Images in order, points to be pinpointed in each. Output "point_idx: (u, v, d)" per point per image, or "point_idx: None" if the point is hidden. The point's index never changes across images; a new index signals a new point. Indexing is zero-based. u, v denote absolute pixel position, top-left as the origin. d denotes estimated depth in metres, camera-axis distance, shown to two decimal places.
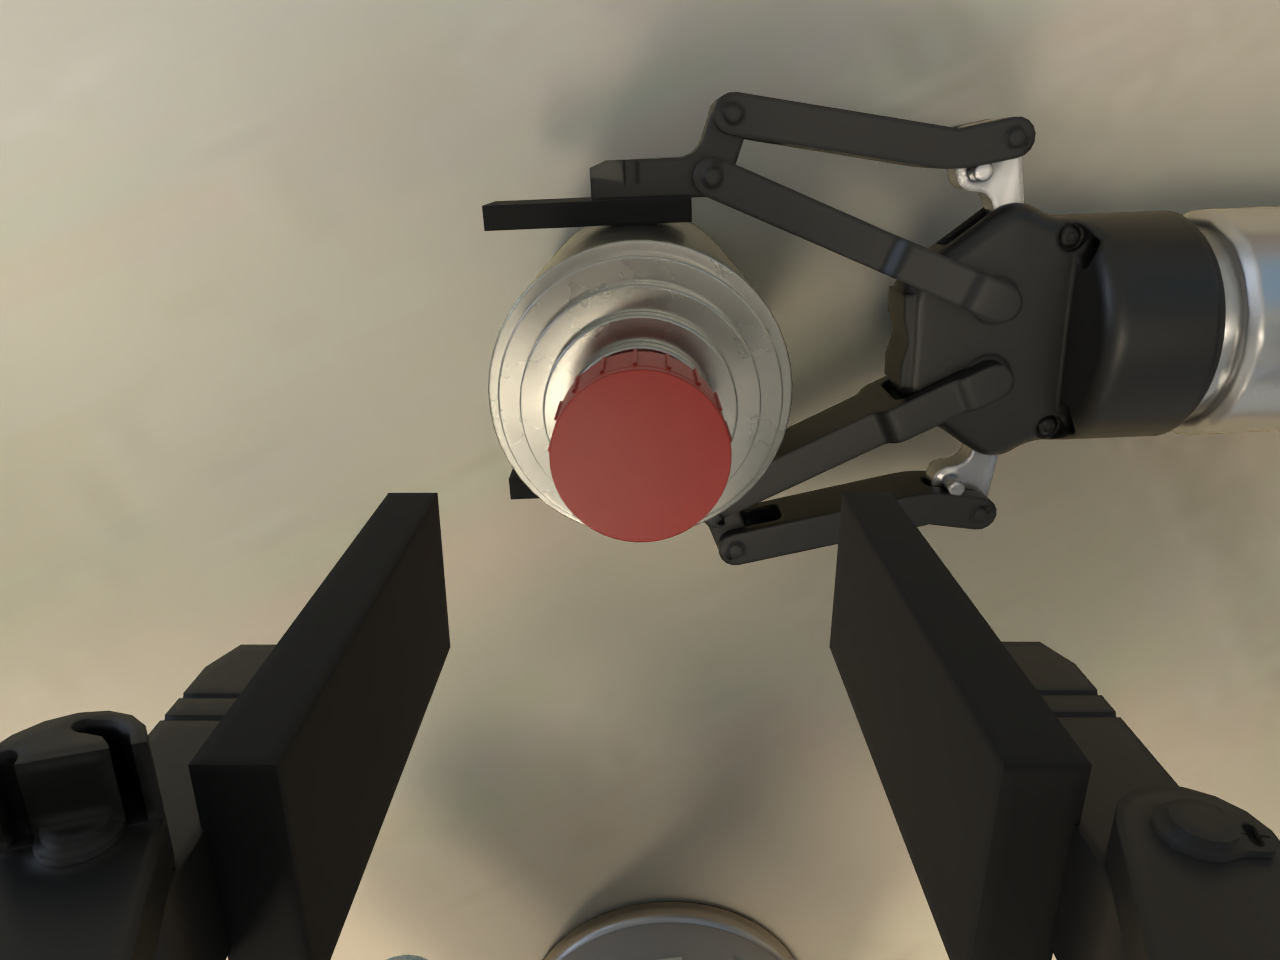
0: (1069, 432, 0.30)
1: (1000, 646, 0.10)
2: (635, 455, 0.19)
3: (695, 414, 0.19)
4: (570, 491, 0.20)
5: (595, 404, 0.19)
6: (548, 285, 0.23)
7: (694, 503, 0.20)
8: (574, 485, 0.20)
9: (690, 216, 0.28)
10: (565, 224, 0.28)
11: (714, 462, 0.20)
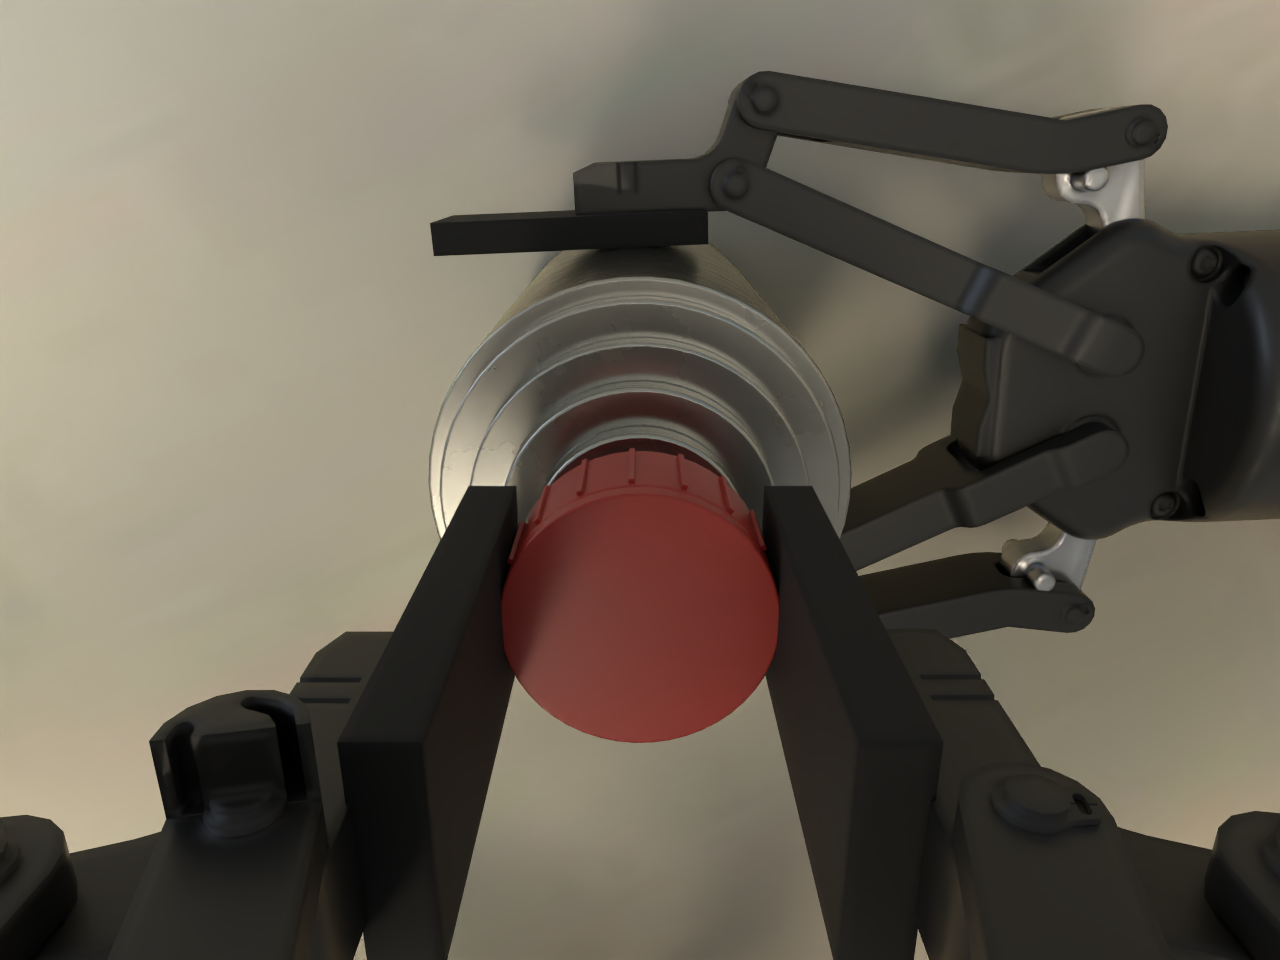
0: (1195, 514, 0.23)
1: (882, 631, 0.10)
2: (632, 620, 0.13)
3: (725, 560, 0.12)
4: (532, 671, 0.13)
5: (569, 545, 0.12)
6: (509, 340, 0.17)
7: (722, 688, 0.13)
8: (538, 663, 0.13)
9: (706, 237, 0.21)
10: (540, 247, 0.21)
11: (754, 630, 0.13)
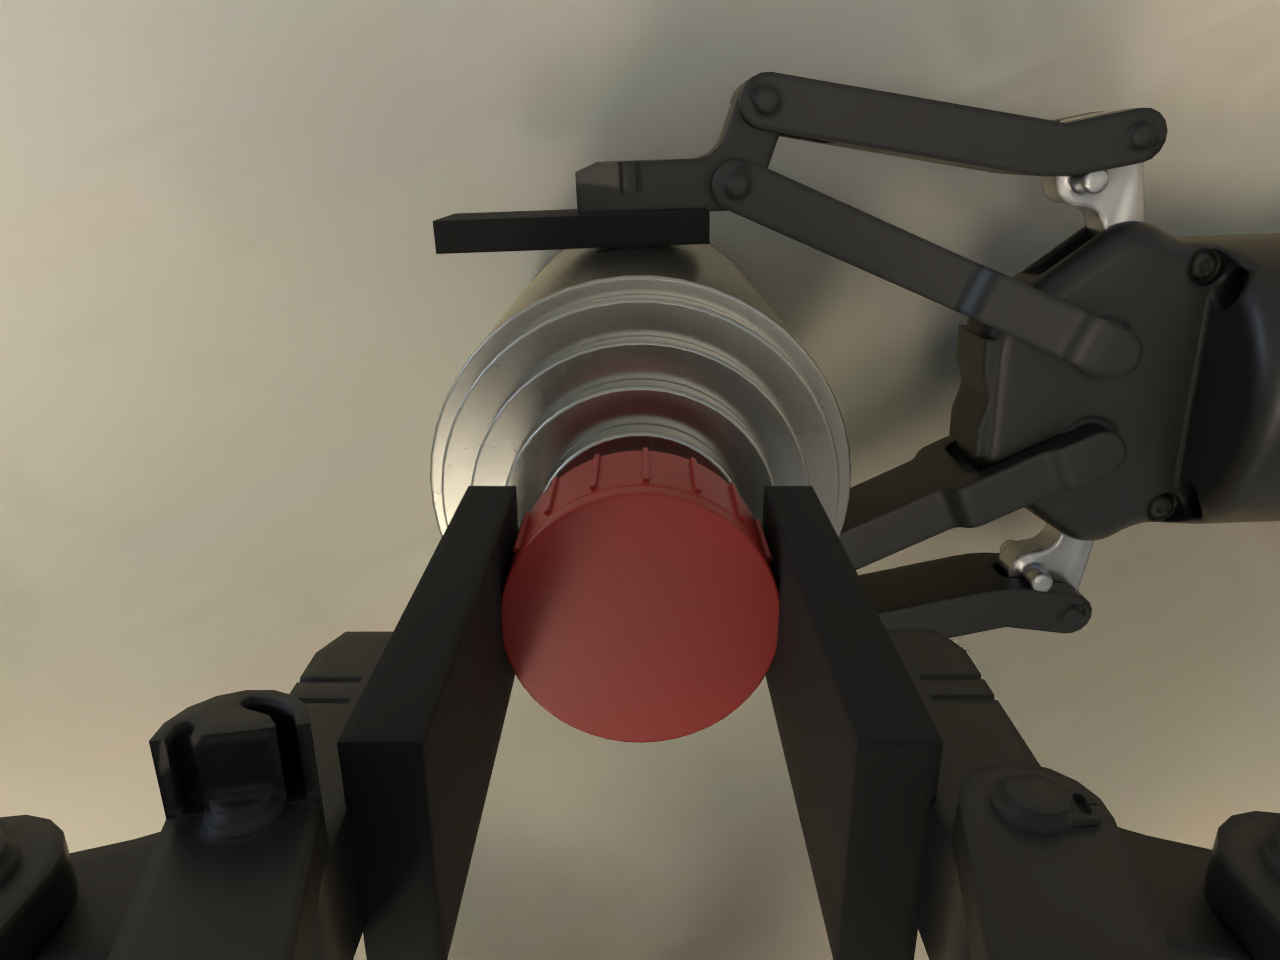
0: (1192, 516, 0.23)
1: (883, 631, 0.10)
2: (635, 633, 0.13)
3: (552, 562, 0.12)
4: (710, 708, 0.13)
5: (569, 695, 0.13)
6: (512, 338, 0.17)
7: (699, 536, 0.12)
8: (699, 705, 0.13)
9: (707, 236, 0.21)
10: (542, 246, 0.21)
11: (624, 520, 0.12)
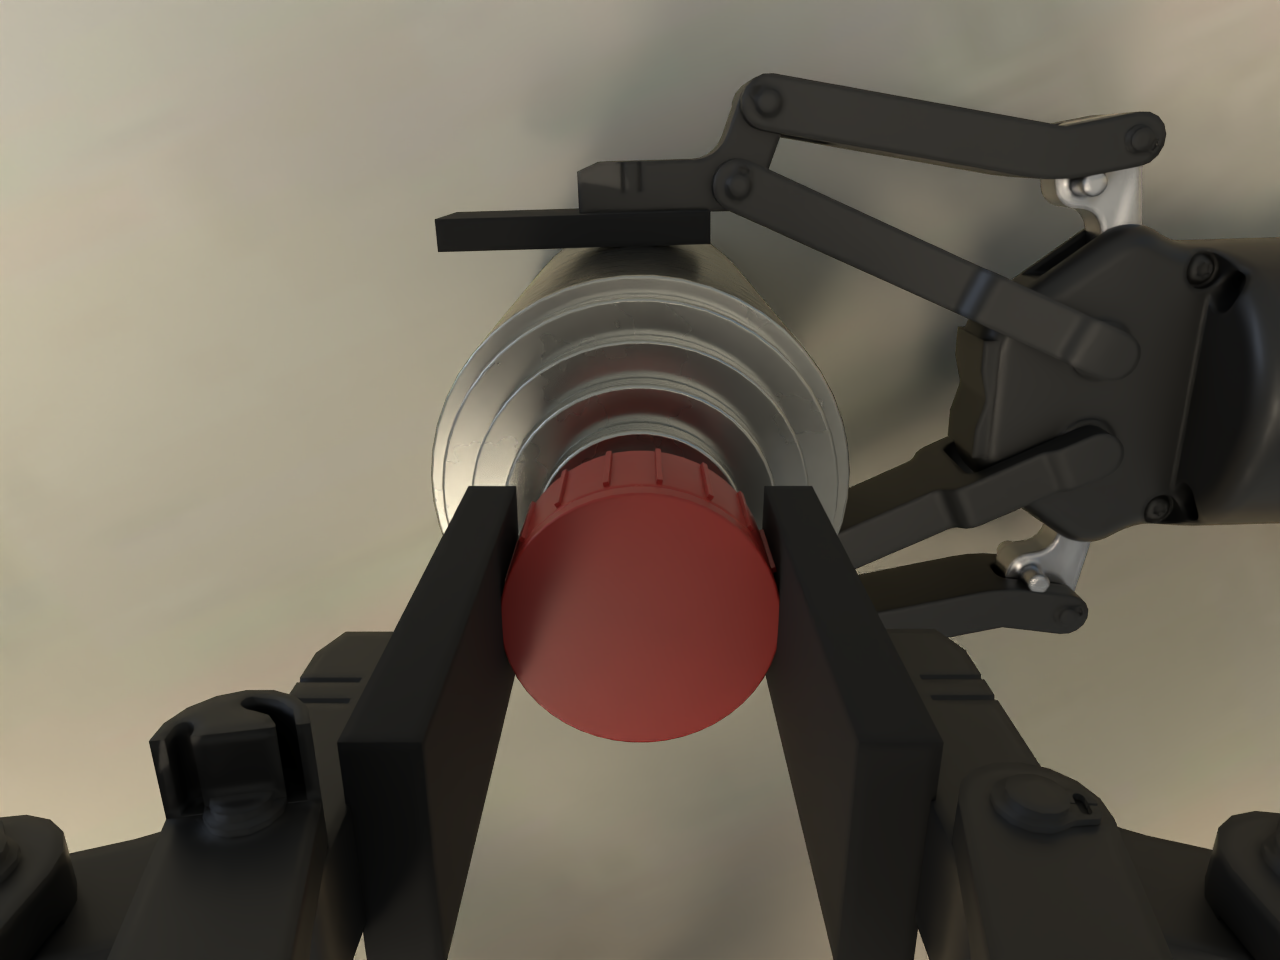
0: (1188, 518, 0.24)
1: (883, 631, 0.10)
2: (649, 628, 0.13)
3: (589, 707, 0.13)
4: (726, 543, 0.12)
5: (733, 674, 0.13)
6: (513, 336, 0.17)
7: (533, 590, 0.12)
8: (723, 555, 0.12)
9: (708, 236, 0.21)
10: (544, 245, 0.21)
11: (533, 656, 0.13)
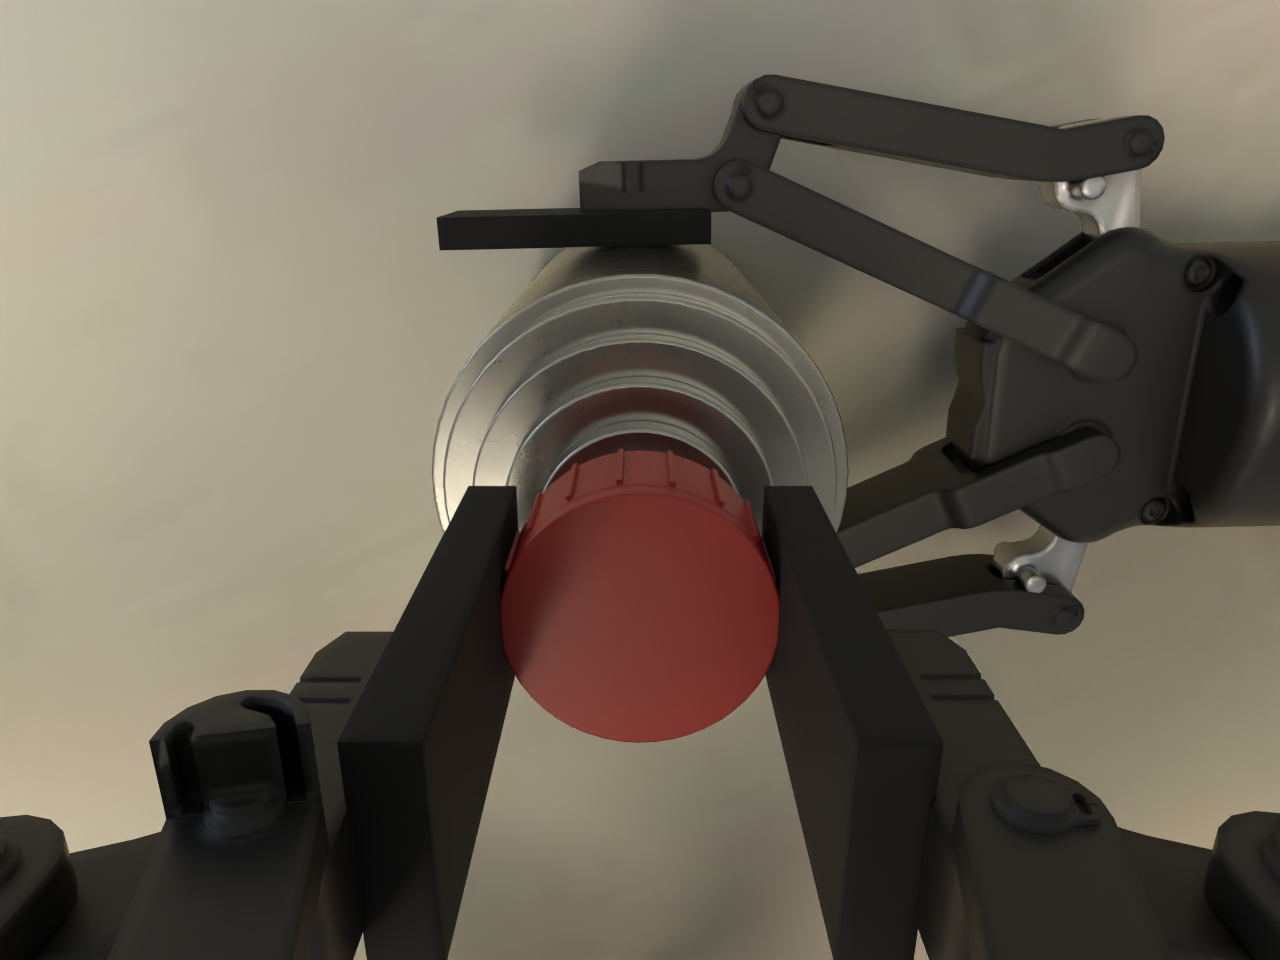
0: (1184, 520, 0.24)
1: (883, 631, 0.10)
2: (641, 616, 0.13)
3: (743, 654, 0.13)
4: (534, 565, 0.12)
5: (680, 529, 0.12)
6: (515, 334, 0.17)
7: (622, 718, 0.13)
8: (547, 566, 0.12)
9: (709, 237, 0.21)
10: (545, 244, 0.21)
11: (693, 710, 0.13)
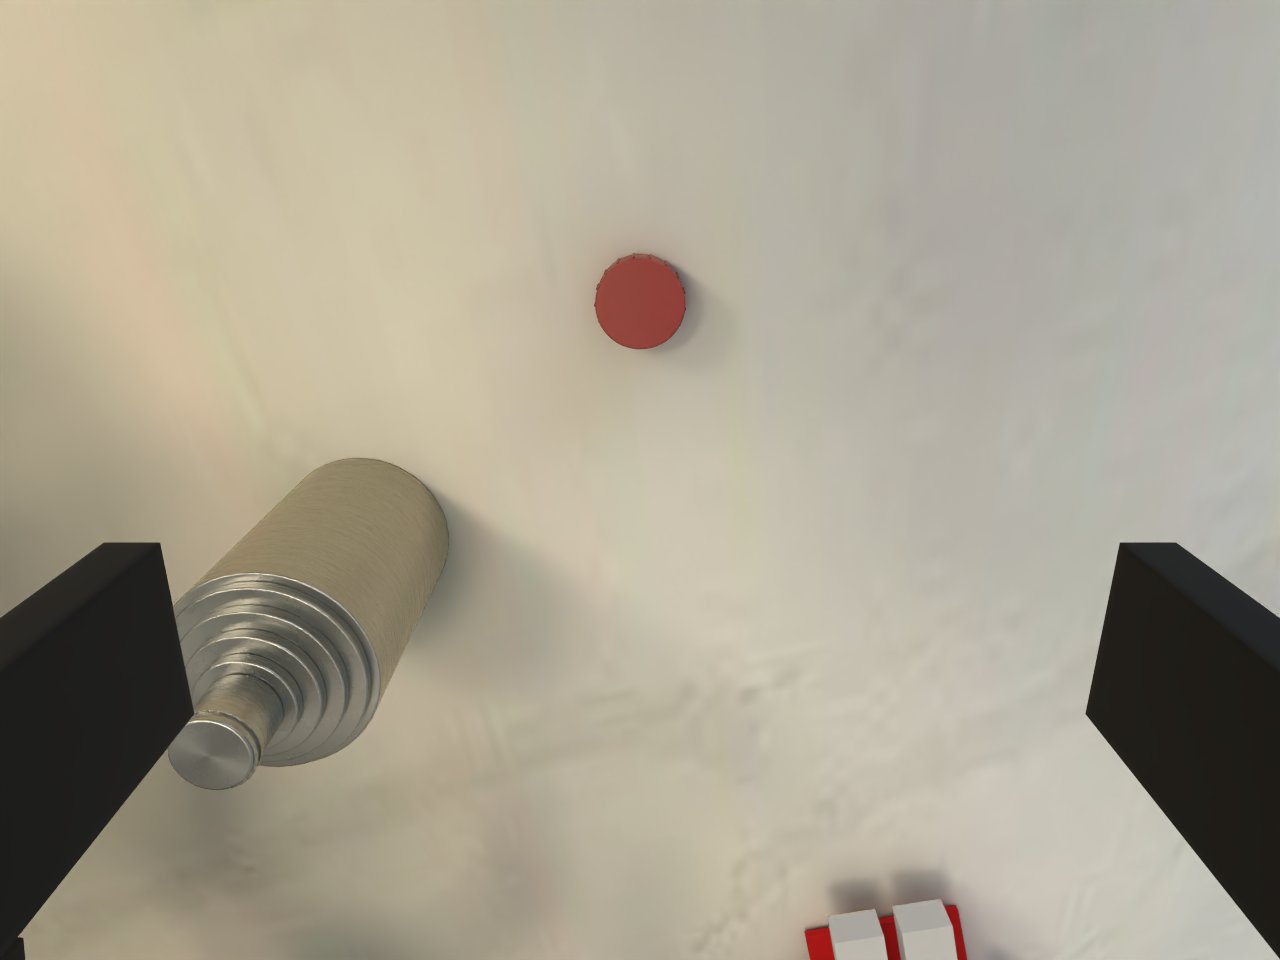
0: None
1: None
2: (640, 301, 0.40)
3: (673, 315, 0.40)
4: (607, 283, 0.39)
5: (652, 271, 0.39)
6: (355, 633, 0.33)
7: (634, 339, 0.40)
8: (611, 283, 0.39)
9: None
10: None
11: (657, 336, 0.40)
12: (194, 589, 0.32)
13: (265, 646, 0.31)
